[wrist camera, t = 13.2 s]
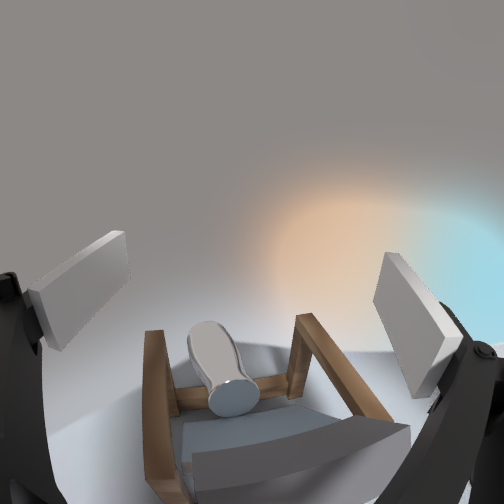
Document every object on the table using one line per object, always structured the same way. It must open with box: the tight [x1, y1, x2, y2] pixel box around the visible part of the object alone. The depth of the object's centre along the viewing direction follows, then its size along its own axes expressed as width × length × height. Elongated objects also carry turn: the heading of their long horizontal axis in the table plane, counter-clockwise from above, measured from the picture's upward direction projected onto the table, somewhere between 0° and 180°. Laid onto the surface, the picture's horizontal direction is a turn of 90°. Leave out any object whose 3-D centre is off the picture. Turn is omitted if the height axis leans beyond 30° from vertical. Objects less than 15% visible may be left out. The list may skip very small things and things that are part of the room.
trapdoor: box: [181, 404, 411, 504], centre depth 20 cm, size 14×22×4 cm
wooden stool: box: [142, 313, 394, 504], centre depth 25 cm, size 19×19×14 cm
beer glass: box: [187, 321, 260, 417], centre depth 36 cm, size 7×7×15 cm
